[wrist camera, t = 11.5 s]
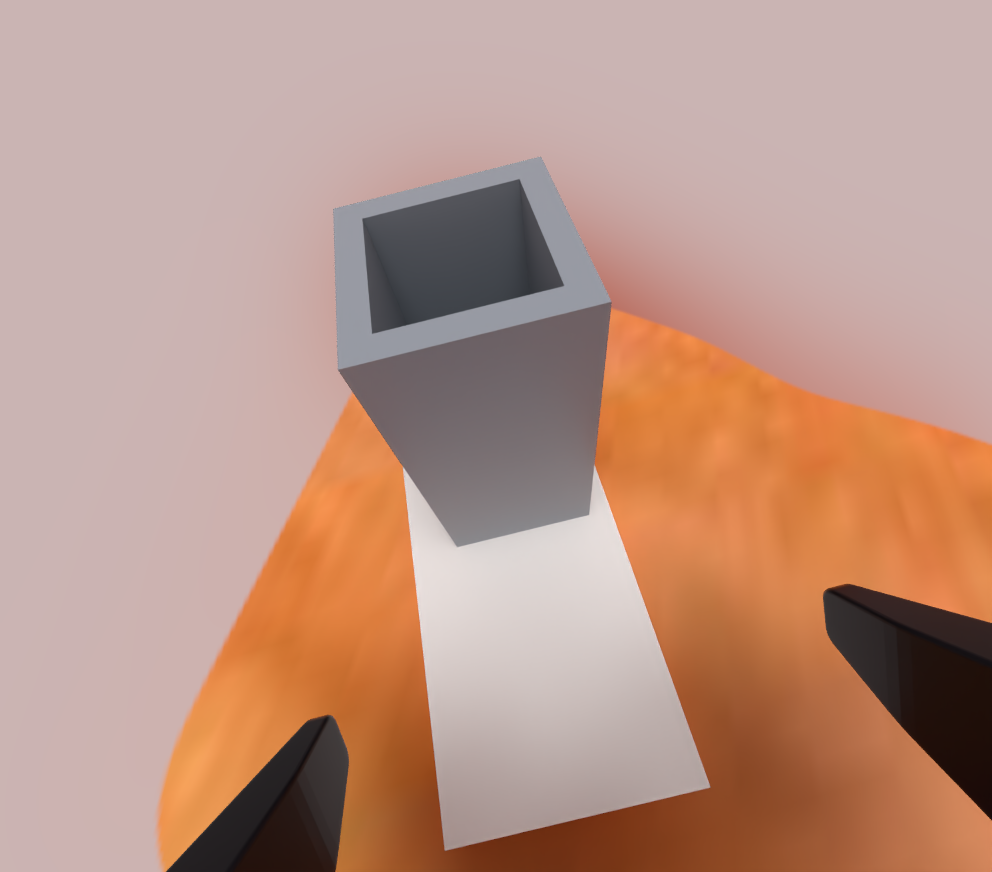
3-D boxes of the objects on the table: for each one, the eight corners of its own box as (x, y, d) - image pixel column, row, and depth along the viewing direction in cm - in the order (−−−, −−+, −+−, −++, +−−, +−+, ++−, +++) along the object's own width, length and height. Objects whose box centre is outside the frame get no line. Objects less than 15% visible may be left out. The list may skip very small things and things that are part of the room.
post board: (699, 781, 17) (747, 806, 12) (454, 840, 17) (412, 886, 12) (561, 389, 26) (560, 322, 22) (405, 427, 26) (371, 369, 22)
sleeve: (588, 514, 20) (611, 301, 10) (457, 547, 21) (338, 369, 10) (553, 406, 24) (540, 156, 13) (438, 435, 24) (332, 208, 13)
